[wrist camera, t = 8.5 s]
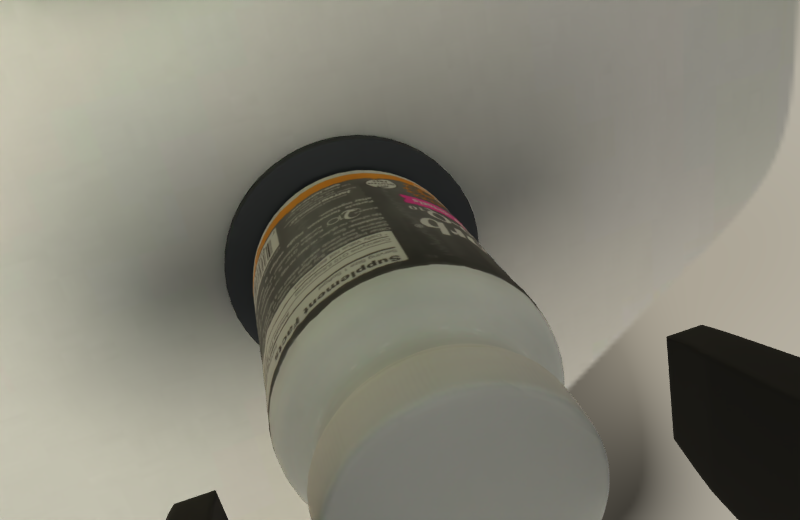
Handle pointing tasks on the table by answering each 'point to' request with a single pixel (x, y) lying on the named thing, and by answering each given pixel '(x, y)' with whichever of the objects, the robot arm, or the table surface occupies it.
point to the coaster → (309, 169)
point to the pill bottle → (412, 366)
